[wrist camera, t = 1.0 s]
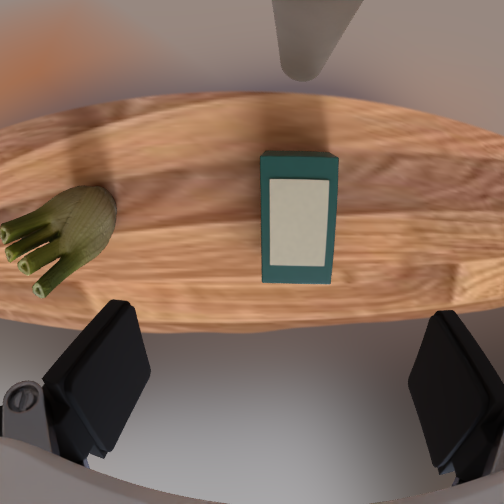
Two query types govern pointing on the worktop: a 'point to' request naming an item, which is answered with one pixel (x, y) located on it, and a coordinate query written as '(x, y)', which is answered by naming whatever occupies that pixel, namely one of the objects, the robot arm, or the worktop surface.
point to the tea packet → (298, 216)
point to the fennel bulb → (61, 234)
